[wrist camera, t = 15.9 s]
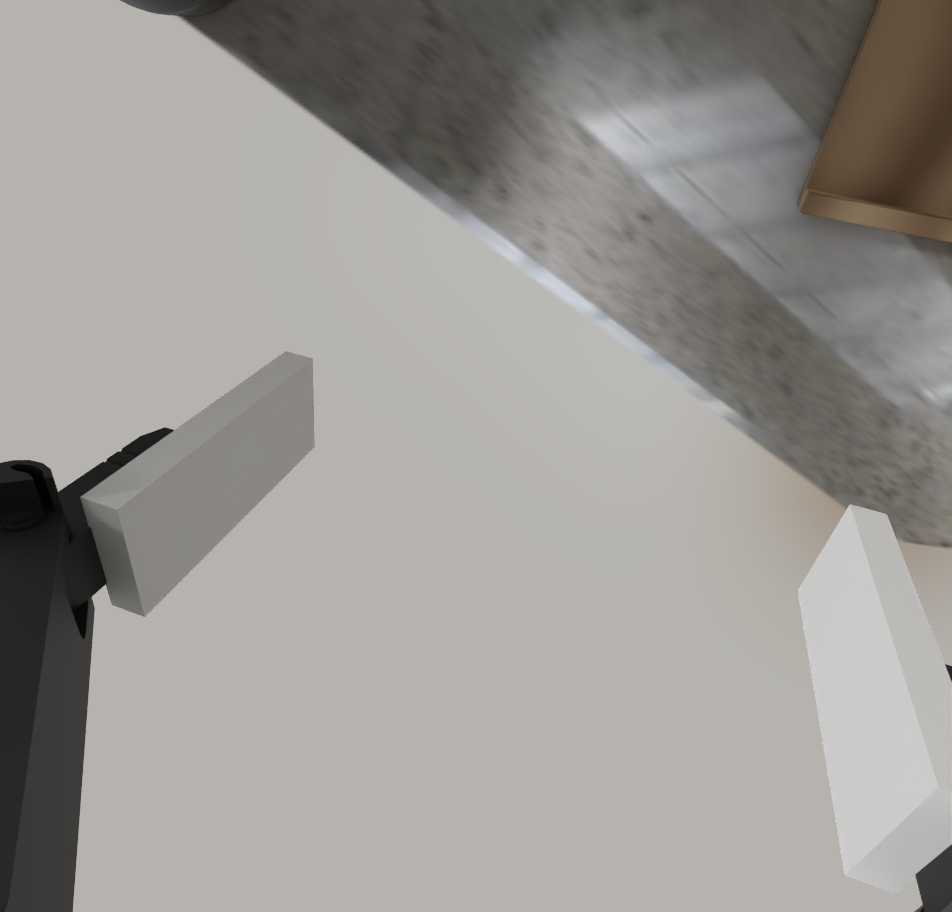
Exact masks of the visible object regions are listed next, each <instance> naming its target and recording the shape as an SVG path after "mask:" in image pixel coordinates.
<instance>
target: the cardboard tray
mask: <svg viewBox="0 0 952 912" xmlns="http://www.w3.org/2000/svg"><path fill="white" fill-rule="evenodd" d="M797 206H798V207H799V209H800V211H801V213H803V214H808V215H813V216H818V217H823V218H829V219H834V220H839V221H844V222H849V223H854V224H859V225H864V226H869V227H874V228H879V229H885V230H890V231H895V232H900V233H905V234H910V235H915V236H920V237H925V238H930V239H935V240H940V241H946V242H951V243H952V0H878V3H877V5H876V8H875V10H874V13H873V15H872V18H871V20H870V23H869V25H868V28H867V30H866V33H865V35H864V38H863V40H862V43H861V45H860V48H859V50H858V53H857V55H856V58H855V60H854V63H853V65H852V68H851V70H850V73H849V75H848V78H847V80H846V82H845V85H844V87H843V90H842V92H841V95H840V97H839V100H838V102H837V105H836V107H835V110H834V112H833V115H832V117H831V120H830V122H829V125H828V127H827V130H826V132H825V135H824V137H823V140H822V142H821V145H820V147H819V150H818V152H817V155H816V157H815V160H814V162H813V165H812V167H811V170H810V172H809V175H808V177H807V180H806V182H805V185H804V187H803V190H802V192H801V195H800V197H799V200H798V202H797Z"/></svg>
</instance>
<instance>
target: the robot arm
mask: <svg viewBox="0 0 952 912" xmlns="http://www.w3.org/2000/svg"><path fill="white" fill-rule="evenodd" d="M121 1H123V2H125V3H127V4H128V5H131V6H133V7H136V8H139V9H142V10H145V11H148V12H152V13H156V14H164V15H178V16H197V15H203V14H207V13H210V12H213V11H215V10H217V9H219V8H221V7H223V6H224V5H226V4H227V3H229V2H230V1H231V0H121ZM312 363H313V362H312V358H308V357H305V356H301V355H297V354H294V353H290V352H284V353H283V354H281V355H280V356H279V357H277V358H276V359H274V360H273V361H272V362H270V363H269V364H267V365H266V366H264V367H263V368H262V369H260V370H259V371H257V372H256V373H255V374H253V375H252V376H250V377H249V378H248V379H246V380H245V381H243V382H242V383H240V384H239V385H238V386H236V387H235V388H234V389H232V390H231V391H229V392H228V393H226V394H225V395H224V396H222V397H221V398H220V399H218V400H217V401H215V402H214V403H212V404H211V405H210V406H208V407H207V408H205V409H204V410H202V411H201V412H200V413H198V414H197V415H195V416H194V417H193V418H191V419H190V420H188V421H187V422H185V423H184V424H183V425H181V426H180V427H179V428H177V429H176V430H172V429H169V428H162V429H159V430H157V431H154V432H151V433H149V434H145V435H143V436H140V437H139V438H137V439H136V440H135V441H133V442H131V443H130V444H129V445H127V446H126V447H124V448H123V449H122V451H121V452H117V453H115V454H114V455H112V456H111V457H109V458H108V459H107V461H106V462H102V463H100V464H99V465H97V466H96V467H95V468H93V469H92V470H90V471H89V472H87V473H86V474H84V475H83V476H81V477H80V478H78V479H77V480H75V481H74V482H72V483H71V484H69V485H68V486H67V487H65V488H64V489H62V490H61V491H59V492H58V491H57V488H56V485H55V481H54V478H53V476H52V472H51V469H50V468H48V467H47V466H46V465H44V464H43V463H39V462H35V461H31V460H15V461H14V460H13V461H8V462H3V463H0V912H73V897H74V884H75V871H76V856H77V843H78V829H79V816H80V802H81V787H82V774H83V760H84V745H85V733H86V719H87V705H88V692H89V677H90V663H91V650H92V636H93V623H94V605H93V600H92V596H93V595H94V594H95V593H96V592H97V591H98V590H99V589H101V588H102V587H103V586H104V585H105V584H106V586H107V590H108V593H109V596H110V600H111V603H112V605H114V606H117V607H119V608H122V609H125V610H128V611H130V612H133V613H136V614H138V615H141V616H144V617H145V616H146V615H147V614H148V613H149V612H150V611H151V610H152V609H153V608H154V607H155V606H156V605H157V604H158V603H159V602H160V601H161V600H162V599H163V598H164V597H165V596H166V595H167V594H168V593H169V592H170V591H171V590H172V589H173V588H174V587H175V586H176V585H177V584H178V583H179V582H180V581H181V580H182V579H183V578H184V577H185V576H186V575H187V574H188V573H189V572H190V571H191V570H192V569H193V568H194V567H195V566H196V565H197V564H198V563H199V562H200V561H201V560H202V559H203V558H204V557H205V556H206V555H207V554H208V553H209V552H210V551H211V550H212V549H213V548H214V547H215V546H216V545H217V544H218V543H219V542H220V541H221V540H222V539H223V538H224V537H225V536H226V535H227V534H228V533H229V532H230V531H231V530H232V529H233V528H234V527H235V526H236V525H237V524H238V523H239V522H240V521H241V520H242V519H243V518H244V517H245V516H246V515H247V514H248V513H249V512H250V511H251V510H252V509H253V508H254V507H255V506H256V505H257V504H258V503H259V502H260V501H261V500H262V499H263V498H264V497H265V496H266V495H267V494H268V493H269V492H270V491H271V490H272V489H273V488H274V487H275V486H276V485H277V484H278V483H279V482H280V481H281V480H282V479H283V478H284V477H285V476H286V475H287V474H288V473H289V472H290V471H291V470H292V469H293V468H294V467H295V466H296V465H297V464H298V463H299V462H300V461H301V460H302V459H303V458H304V457H305V456H306V455H307V454H308V453H309V452H310V451H311V450H312V449H313V448H314V409H313V408H314V405H313V364H312ZM798 597H799V602H800V608H801V614H802V621H803V627H804V633H805V638H806V644H807V651H808V657H809V663H810V669H811V675H812V681H813V687H814V693H815V698H816V705H817V711H818V717H819V723H820V729H821V735H822V741H823V747H824V753H825V759H826V765H827V771H828V777H829V783H830V789H831V795H832V801H833V807H834V813H835V819H836V825H837V831H838V837H839V844H840V850H841V855H842V862H843V868H844V874H845V876H848V877H850V878H853V879H856V880H859V881H861V882H864V883H866V884H869V885H872V886H875V887H877V888H880V889H883V890H886V891H888V892H891V893H894V894H897V893H898V892H899V891H900V890H901V889H903V888H904V887H905V886H906V885H907V884H909V883H910V882H911V881H912V880H913V879H915V878H916V879H917V883H918V887H919V891H920V895H921V899H922V902H923V905H922V906H921V907H920V908H919V909H917V910H916V911H915V912H952V666H949V665H946V664H944V661H943V658H942V656H941V653H940V651H939V648H938V645H937V643H936V640H935V638H934V635H933V633H932V630H931V627H930V625H929V622H928V620H927V617H926V615H925V612H924V609H923V607H922V604H921V602H920V599H919V597H918V594H917V591H916V589H915V586H914V583H913V581H912V578H911V576H910V573H909V570H908V568H907V565H906V563H905V560H904V558H903V555H902V552H901V550H900V547H899V545H898V542H897V539H896V537H895V534H894V532H893V529H892V526H891V524H890V521H889V519H888V516H887V514H884V513H881V512H877V511H873V510H870V509H866V508H862V507H859V506H855V505H851V504H850V505H849V506H848V508H847V510H846V511H845V513H844V515H843V516H842V518H841V520H840V521H839V523H838V525H837V526H836V528H835V530H834V531H833V533H832V535H831V536H830V538H829V539H828V541H827V543H826V544H825V546H824V548H823V549H822V551H821V553H820V554H819V556H818V558H817V559H816V561H815V563H814V564H813V566H812V568H811V569H810V571H809V573H808V574H807V576H806V578H805V579H804V581H803V583H802V584H801V586H800V588H799V589H798Z"/></svg>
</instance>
